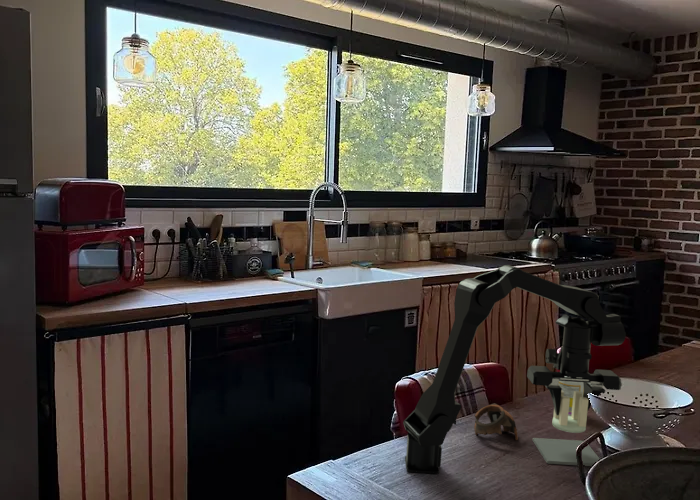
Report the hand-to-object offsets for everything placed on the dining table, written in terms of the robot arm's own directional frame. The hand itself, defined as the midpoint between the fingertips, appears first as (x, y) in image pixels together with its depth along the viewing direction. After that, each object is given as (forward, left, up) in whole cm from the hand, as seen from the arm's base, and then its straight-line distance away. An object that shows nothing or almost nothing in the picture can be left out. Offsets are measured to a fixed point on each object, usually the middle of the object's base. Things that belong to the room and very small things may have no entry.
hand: (569, 415), depth 140 cm
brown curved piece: (-14, +8, -9) cm, 19 cm away
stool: (0, 0, -3) cm, 2 cm away
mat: (0, 0, -9) cm, 9 cm away
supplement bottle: (+8, +25, -9) cm, 28 cm away
